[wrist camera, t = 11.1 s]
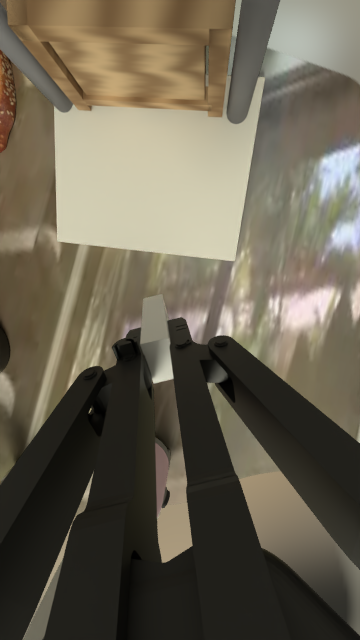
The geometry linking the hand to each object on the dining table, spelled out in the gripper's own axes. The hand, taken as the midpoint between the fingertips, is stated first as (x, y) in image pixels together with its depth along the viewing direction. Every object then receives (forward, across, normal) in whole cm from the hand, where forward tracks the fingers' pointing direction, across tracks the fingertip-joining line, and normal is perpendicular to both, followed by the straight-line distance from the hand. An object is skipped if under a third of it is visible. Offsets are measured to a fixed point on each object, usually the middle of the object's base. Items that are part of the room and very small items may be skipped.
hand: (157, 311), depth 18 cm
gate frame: (+26, +3, +12) cm, 29 cm away
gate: (+26, +5, +20) cm, 33 cm away
